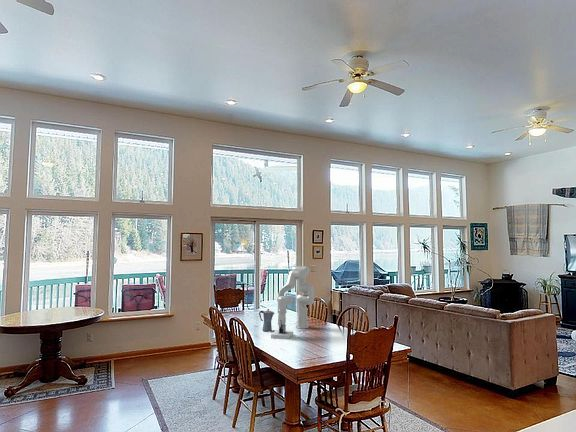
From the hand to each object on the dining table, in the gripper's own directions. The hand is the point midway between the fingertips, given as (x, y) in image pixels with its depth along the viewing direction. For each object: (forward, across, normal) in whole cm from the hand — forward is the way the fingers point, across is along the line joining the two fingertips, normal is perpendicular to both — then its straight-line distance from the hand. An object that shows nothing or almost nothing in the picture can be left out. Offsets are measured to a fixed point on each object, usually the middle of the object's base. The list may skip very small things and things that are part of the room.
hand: (282, 331), depth 333 cm
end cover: (+4, 0, 0) cm, 4 cm away
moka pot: (+4, -18, -20) cm, 27 cm away
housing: (+4, 0, 0) cm, 4 cm away
